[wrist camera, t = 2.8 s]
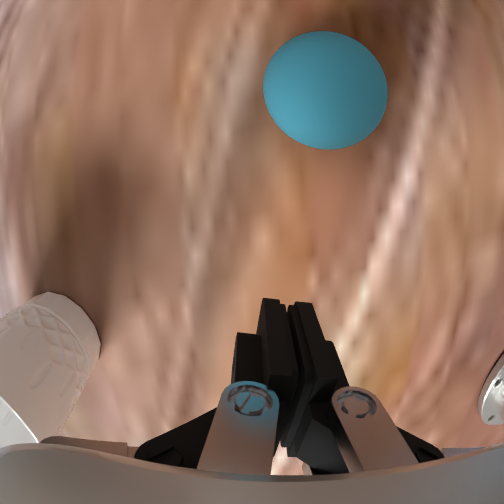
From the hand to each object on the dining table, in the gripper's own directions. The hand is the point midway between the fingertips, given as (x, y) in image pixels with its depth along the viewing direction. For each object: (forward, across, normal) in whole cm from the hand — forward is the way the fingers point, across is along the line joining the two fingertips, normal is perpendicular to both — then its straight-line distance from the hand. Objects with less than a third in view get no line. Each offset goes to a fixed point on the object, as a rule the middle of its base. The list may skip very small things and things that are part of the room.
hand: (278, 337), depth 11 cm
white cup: (+8, +14, +8) cm, 18 cm away
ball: (+5, -1, -9) cm, 10 cm away
